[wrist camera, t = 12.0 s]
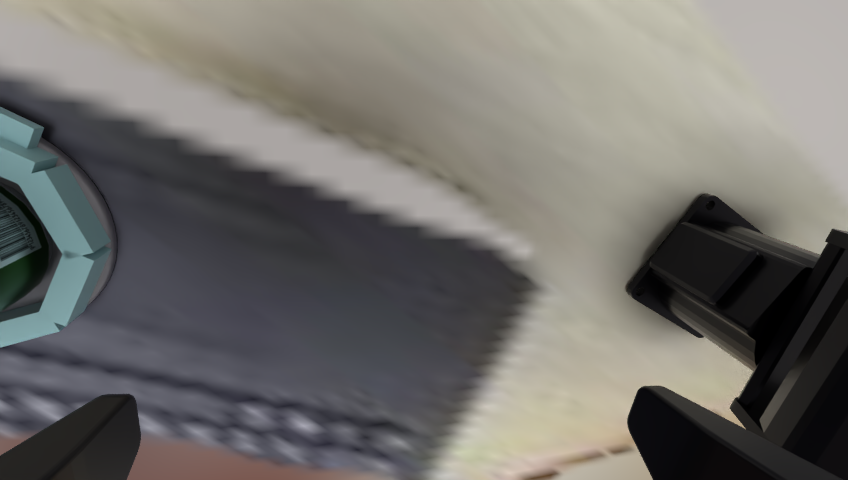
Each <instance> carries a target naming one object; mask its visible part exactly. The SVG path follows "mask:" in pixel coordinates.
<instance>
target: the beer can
mask: <svg viewBox="0 0 848 480" xmlns="http://www.w3.org/2000/svg"><path fill="white" fill-rule="evenodd" d="M52 256H53V238H52V237H51V235H50V234H49V232H48V230H47V229H46V227H45V226H44V224H43V222H42V221H41V219H40V218H39V216H38V214H37V213H36V211H35V210H34V208H33V207H32V205H31V203H30V202H29V200H28V199H27V198H26V197H25V196H23V195H22V194H21V193H19V192H18V191H17V190H16V189H14V188H13V187H11V186H8V185H6V184H4V183H2V182H0V312H1V311H3V310H4V309H6V308H7V307H9V306H11V305H12V304H14V303H15V302H17V301H18V300H20V299H22V298H23V297H25V296H26V295H27V294H28V293H30V292H31V291H32V290H33V289H34V288H35V287H36V286H38V285H39V284H40V283H41V281H42V279H43V277H44V275H45V273H46V271H47V268H48V266H49V264H50V261H51V259H52Z"/></svg>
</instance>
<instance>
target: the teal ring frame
mask: <svg viewBox="0 0 848 480" xmlns="http://www.w3.org/2000/svg"><path fill="white" fill-rule="evenodd" d="M43 129H44V127H42V126H40V125H38V124H36V123H34V122H32V121H29V120H27V119H25V118H23V117H21V116H19V115H17V114H15V113H13V112H10V111H8V110H6V109H4V108H2V107H0V182H2V183H4V184H6V185H8V186H11V187H13V188H14V189H16V190H17V191H18V192H19V193H21V194H22V195H23V196H25V197H26V198H27V199H28V200H29V202H30V203H31V205H32V207H33V208H34V210H35V211H36V213H37V214H38V216H39V218H40V219H41V221H42V222H43V224H44V226H45V227H46V229H47V230H48V232H49V234H50V235H51V237H52V238H53V256H52V259H51V261H50V264H49V266H48V268H47V271H46V273H45V275H44V277H43V279H42V281H41V283H40V284H39V285H38V286H36V287H35V288H34V289H33V290H32V291H31V292H30V293H28V294H27V295H26V296H25V297H23V298H22V299H20V300H18V301H17V302H15V303H14V304H12V305H11V306H9V307H7V308H6V309H4V310H3V311H1V312H0V347H4V346H8V345H11V344H15V343H19V342H22V341H26V340H30V339H33V338H37V337H41V336H44V335H48V334H52V333H55V332H59V331H61V330H62V329H63V328H64V327H66V326H67V325H68V324H70V323H71V322H72V321H73V320H74V319H76V318H77V317H78V316H79V315H80V314H81V313H83V312H84V311H85V309H86V306H87V305H89V304H90V303H91V302H92V301H93V300H94V299H95V298H96V297H97V296H98V295H99V294H100V293H101V292H102V290H103V289H104V288H105V286H106V285H107V283H108V281H109V279H110V277H111V275H112V272H113V269H114V266H115V262H116V256H117V237H116V231H115V226H114V222H113V219H112V216H111V213H110V211H109V209H108V207H107V204H106V202H105V200H104V198H103V197H102V195H101V194H100V192H99V190H98V189H97V187H96V186H95V184H94V183H93V182H92V181H91V179H90V178H89V177H88V176H87V175H86V173H85V172H84V171H83V170H82V169H81V168H80V167H79V166H78V165H77V164H76V163H75V162H74V161H73V160H72V159H71V158H69V157H68V156H67V155H66V154H64V153H63V152H62V151H61V150H60V149H58V148H57V147H56V146H54V145H53V144H51V143H50V142H48V141H46V140H45V139H43V138H42V137H41V135H42V132H43Z"/></svg>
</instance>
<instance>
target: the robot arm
mask: <svg viewBox="0 0 848 480" xmlns="http://www.w3.org/2000/svg"><path fill="white" fill-rule="evenodd" d="M708 202H709V203H708ZM707 203H708V205H707V206H706V204H707ZM826 242H828V243H827V245H826V247H825V248H824V250H823V252H822V254H821V255H819V254H816V253H814V252H811V251H808V250H805V249H802V248H800V247H797V246H794V245H791V244H789V243H786V242H783V241H780V240H777V239H775V238H772V237H769V236H766V235H764V234H763V233H761V232H760V231H759V230H758V229H756V228H755V227H754V226H753V225H751V224H750V223H749V222H748V221H746V220H745V219H744V218H743V217H741V216H740V215H739V214H738V213H736V212H735V211H734V210H733V209H731V208H730V207H729V206H728V205H727V204H725V203H724V202H723V201H722V200H720V199H719V198H718V197H716V196H713V195H710V194H704V195H702V196H700V197H699V198H698V199H697V201H696V202H695V203H694V204H693V206H692V207H691V208H690V209H689V211H688V212H687V213H686V214H685V216H684V217H683V218H682V219H681V221H680V222H679V223H678V224H677V226H676V227H675V228H674V229H673V231H672V232H671V233H670V234H669V236H668V237H667V238H666V239H665V241H664V242H663V243H662V244H661V246H660V247H659V248H658V249H657V251H656V252H655V253H654V254H653V256H652V257H651V258H650V259H649V261H648V262H647V263H646V264H645V266H644V267H643V268H642V269H641V270H640V272H639V273H638V274H637V275H636V277H635V278H634V279H633V280H632V282H631V283H630V284H629V286H628V288H627V293H628V294H629V295H630V296H631V297H632V298H634V299H635V300H637V301H638V302H640V303H642V304H643V305H645V306H647V307H648V308H650V309H652V310H653V311H655V312H656V313H658V314H660V315H661V316H663V317H665V318H666V319H668V320H670V321H671V322H673V323H675V324H676V325H678V326H680V327H681V328H683V329H685V330H686V331H688V332H690V333H691V334H693V335H695V336H696V337H698V338H703V337H706V338H707V339H709V340H710V341H712V342H713V343H714V344H716V345H717V346H719V347H720V348H721V349H723V350H724V351H726V352H727V353H728V354H730V355H731V356H733V357H734V358H735V359H737V360H738V361H740V362H741V363H743V364H744V365H745V366H747V367H748V368H750V369H751V370H752V371H753V373H752V375H751V377H750V378H749V380H748V382H747V383H746V385H745V387H744V389H743V390H742V392H741V394H740V396H739V397H736V398H735V399H734V401H733V403H732V404H731V406H730V409H731V411H732V412H733V413H734V414H735V416H736V417H737V418H738V419H739V421H740V422H741V423H742V424H743V426H744V427H745V428H746V429H747V430H746V429H744V428H742V427H740V426H738V425H737V424H734V423H733V422H731V421H729V420H727V419H725V418H723V417H721V416H719V415H717V414H715V413H713V412H711V411H710V410H708V409H706V408H704V407H702V406H700V405H698V404H696V403H694V402H692V401H690V400H688V399H686V398H684V397H682V396H681V395H679V394H677V393H675V392H673V391H671V390H669V389H667V388H665V387H662V386H643V387H641V388H640V389H639V390H638V391H637V394H636V396H635V399H634V402H633V404H632V407H631V410H630V412H629V415H628V419H627V424H628V429H629V432H630V434H631V436H632V438H633V440H634V442H635V444H636V446H637V448H638V450H639V452H640V454H641V456H642V458H643V460H644V462H645V464H646V466H647V468H648V470H649V472H650V474H651V476H652V478H653V480H848V232H846V231H841V230H837V229H832V230H831V232H830V234H829V235H828V237H827V239H826ZM639 288H640V289H639ZM637 289H639V290H638V291H637ZM636 291H637V292H636ZM140 440H141V432H140V425H139V418H138V411H137V404H136V400H135V398H134V396H132V395H130V394H106V395H101V396H99V397H97V398H95V399H94V400H92V401H90V402H89V403H87V404H85V405H84V406H82V407H80V408H79V409H77V410H75V411H74V412H72V413H70V414H69V415H67V416H65V417H64V418H62V419H60V420H59V421H57V422H55V423H54V424H52V425H50V426H49V427H47V428H45V429H44V430H42V431H40V432H39V433H37V434H35V435H34V436H32V437H31V438H29V439H27V440H26V441H24V442H22V443H21V444H19V445H17V446H16V447H14V448H12V449H11V450H9V451H7V452H6V453H4V454H2V455H1V456H0V480H127V477H128V475H129V472H130V470H131V467H132V465H133V462H134V460H135V457H136V455H137V452H138V449H139V446H140Z"/></svg>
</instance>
